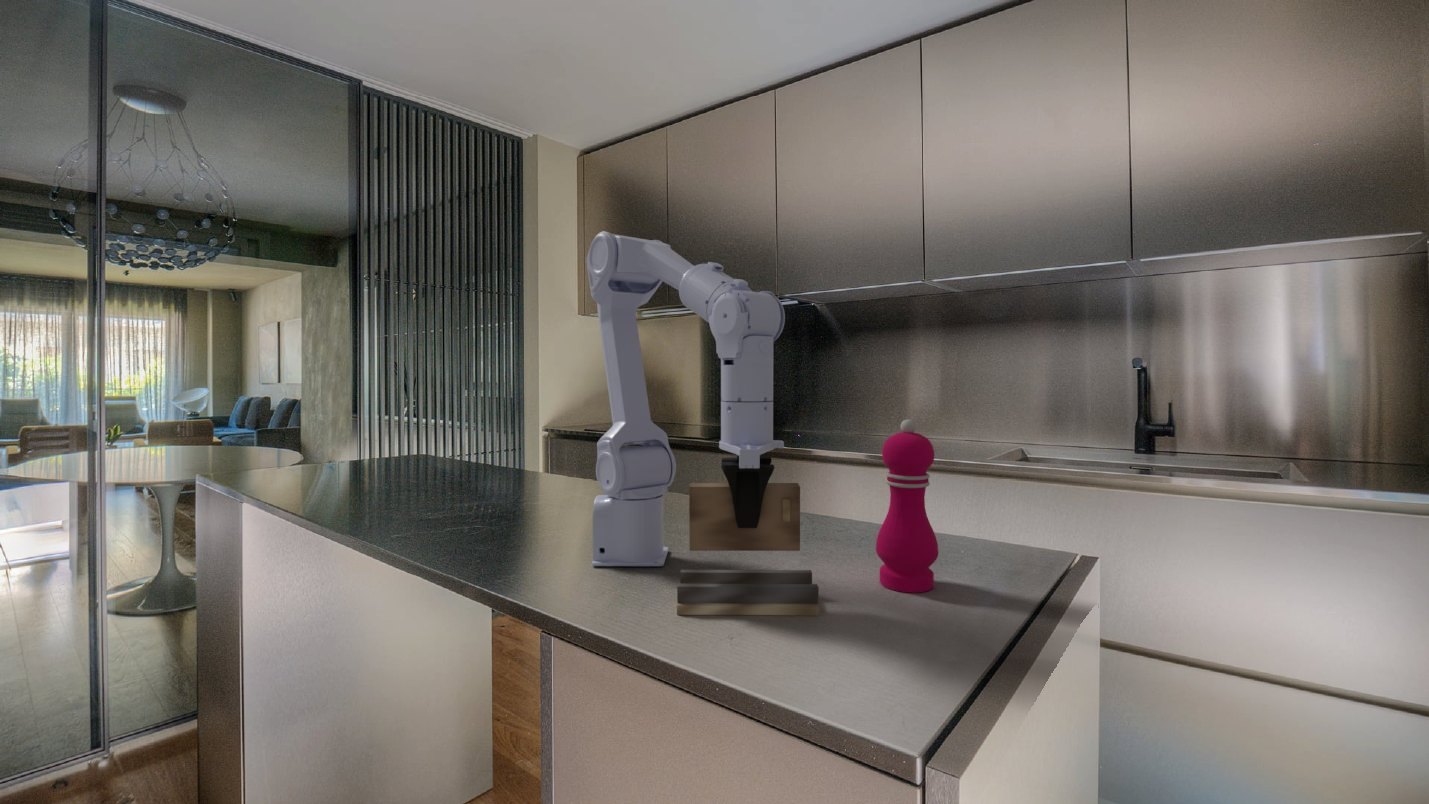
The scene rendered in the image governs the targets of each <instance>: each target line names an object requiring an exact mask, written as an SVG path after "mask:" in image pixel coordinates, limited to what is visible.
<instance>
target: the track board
mask: <svg viewBox="0 0 1429 804" xmlns="http://www.w3.org/2000/svg"><path fill="white" fill-rule="evenodd" d="M679 575H680V578H679V579H680V581H679V582H680V583H677V586H676V587H677V588H676V590H677V591H676V593H677V597H676V598H677V599H676V601H677V604H676V615H678V616H679V615H681V616H682V615H683V616H684V615H685V616H686V615H687V616H691V615H692V616H696V615H697V616H700V615H701V616H820V605H819V585H818V584H817V583H813V572H812V570H810V569H809V570H808V569H795V570H794V569H681V570H680V574H679Z"/></svg>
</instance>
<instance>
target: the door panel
mask: <svg viewBox="0 0 1429 804" xmlns="http://www.w3.org/2000/svg"><path fill="white" fill-rule="evenodd" d="M688 491H689V494H688V495H689V498H688V501H689V503H688V505H689V507H688V510H689V514H688V515H689V520H688V521H689V551H690V552H694V551H695V552H697V551H698V552H699V551H701V552H703V551H705V552H707V551H709V552H714V551H715V552H719V551H721V552H722V551H723V552H724V551H725V552H730V551H731V552H734V551H735V552H737V551H738V552H741V551H743V552H744V551H745V552H747V551H749V552H759V551H760V552H762V551H763V552H766V551H767V552H768V551H769V552H770V551H772V552H774V551H775V552H780V551H781V552H785V551H787V552H789V551H790V552H793V551H794V552H800V551H801V485H800V484H799V483H798V482H768V483H767V486H766V489H765V492H764V496H763V501H762V507H761V513H760V518H759V522H758V526H757V528H738V526H737V523H736V518H735V512H734V506H733V499H732V494H731V490H730V487H729V484H728V482H690V483H689V486H688Z"/></svg>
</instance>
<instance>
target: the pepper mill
mask: <svg viewBox="0 0 1429 804" xmlns="http://www.w3.org/2000/svg"><path fill="white" fill-rule="evenodd" d="M916 429H917V424H916V423H915V421H914V420H912V419H910V418H909V419H904V420H902V422H901V424H900V430H901V432H898V433H895V434H892V435H891V436H889V437H888V438H887V439H886V441H884V442H883V443H884V444H883V446H882V451H881V457H882V461H883V463H884V464H885V466H886V467H887V469H888V471H887V472H886V473H885V476H886V480H885V483H886V484H887V486H889V493H890V499H889V507H888V511H887V513H886V516H885V518H884V521H883V522H882V524H881V527H880V529H879V531H878V534H877V537H876V544H875V551H876V554H877V556H878V557H879V559H880V560H881V562H882V563H883V565H881V566H880V567H879V583H880V584H881V585H882V587H884V586H885V588H887V589H889V590H891V589H892V590H891V591H895V590H896V592H900V591H901V592H900V593H902V592H903V593H908V594H909V593H911V594H912V593H914V594H915V593H919V594H920V593H925V592H929V591H930V590H933V588H934V582H935V581H934V580H935V579H934V577H935V573H934V571H933V570H932V569H931V568H930V567H931V566H932V565H933V564H934V563H935V562H936V561H937V559H938V557H939V544H938V540H937V537H936V534H935V531H934V529H933V527H932V524H931V523H930V520H929V518H928V513H927V511H926V504H925V503H926V502H925V501H926V499H925V496H926V490H927V489H926V488H927V487H929V486H930V482H929V479H930V476H931V475H930V474H929V473H927V471H928V469H929V468H930V467H931V466H933V463H934V460H935V450H934V449H935V448H934V446H933V444H932V443H931V441H930V439H929V438H927V437H926V436H925V435H924V434H923V435H922V434H920V433H916V432H915V431H916Z"/></svg>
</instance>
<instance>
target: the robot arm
mask: <svg viewBox="0 0 1429 804" xmlns="http://www.w3.org/2000/svg"><path fill="white" fill-rule="evenodd" d="M585 259H586V268H587V274H588V275H587V276H588V282H589V284H588V285H589V289H590V295H591V296H590V297H591V298H592V300H594V301H595V302H596V307H597V316H598V324H599V330H600V338H601V344H602V345H601V346H602V347H601V348H602V353H603V354H602V355H603V361H604V369H605V376H606V382H607V383H606V384H607V393H608V397H609V405H610V413H611V421H612V426H611V427H610V428H609V429H608V430H607V431H606V432H605V433H603V435H602V436H601V437H600V438H599V440H598V441H597V443H596V450H597V451H596V452H597V454H596V455H597V457H596V464H595V477H596V481H597V483H598V485H599V487H600V489H601V490H602V491H603V492H604V494H599V495H596V496H595V498H594V502H593V507H592V519H591V521H592V562H591V566H593V567H663V566H664V564H665V562H666V559H667V556H668V552H669V547H668V546H664V495H665V494H668V490H669V489H668V487H670V486H671V485H672V484H673V482H674V479H675V477H676V472H677V462H676V458H675V455H674V454H673V451H672V449H671V446H670V443H669V439H668V434H667V432H665V430H663V429H662V428H660V427H659V426H658V425H657V424H655V423H654V422H653V421H652V418H651V411H650V405H649V399H648V391H647V390H648V389H647V383H646V377H645V370H644V363H643V355H642V350H641V342H640V334H639V328H638V327H639V326H638V320H637V311H638V309H639V307H641V306H643V305H646V304H647V303H648V302H649V300H650V299H651V298H652V296H653V295H654V294H655V292H656V291H657V290H658V288H659V287H660V286H661V285H662V283H663V282H664V283H665V284H667V285H668V286H669V287H670V286H671V287H672V288H673V289H675V290H677V291H678V294H679V299H680V301H681V303H682V305H683V306H684V307H685V308H687V309H689V310H690V311H691V312H693V313H694V314H695V315H697V316H698V317H699V318H702V319H703V320H704V321H705V322H707V323H709V325H708V326H709V329H710V331H711V334H712V336H713V338H714V340H715V345H716V346H715V347H716V349H715V350H716V354H717V357H718V359H720V440H719V441H718V442H719V443H718V448H719V449H720V450H721V451H725V452H728V453H730V454H734V455H736V457H722V458H721V463H720V464H721V465H720V468H721V470H722V472H723V474H724V476H725V479H726V481H727V483H728V484H729V487H730V490H731V494H732V499H733V506H734V512H735V518H736V523H737V526H738V528H757V526H758V522H759V518H760V513H761V507H762V501H763V496H764V492H765V489H766V486H767V483H769V481H770V479H771V478H772V477H771V476H772V475H773V473H774V472H775V471H774V470H775V465H774V464H772V458H771V457H772V456H769V455H763V454H765V453H768V452H771V451H773V450H774V449H784V447H785V441H783V440H780V439H779V440H778V439H777V440H776V439H775V440H774V343H775V341H776V340H778V338H779V337H781V336H780V335H781V334H782V332H783V330H784V327H785V321H786V313H785V309H784V306H783V304H782V301H781V300H780V299H779V298H778V296H776V295H775V294H774V293H773V291H768V290H765V291H764V290H763V291H762V290H761V291H759V292H758V291H753V290H752V289H751V288H750V287H749V286H748V285H749V283H748V282H747V281H746V280H744V279H740V278H734V277H732V276H730V275H728V274H726V273H725V272H723V271H724V266H723V265H722V264H720V263H718V262H714V261H713V262H711V261H708V262H707V263H700V264H696V265H694V264H692V263H691V262H690V261H688V260H687V259H686V258H684V257H683V256H681V254H678V253H677V252H676V251H675V250H673V249H672V247H671V245H670V244H668V243H664V242H663V241H661V240H659V239H652V240H650V239H644V238H638V237H634V236H633V237H632V236H628V235H627V236H626V235H621V234H615V233H610V232H609V231H605V230H604V231H600V232H598V233H597V234H596V235H595V237H594V238H593V240H592V241H591V244H590V246H589V250H588V252H587V256H586V258H585ZM631 445H632V446H631ZM633 445H638V446H633ZM623 446H629V447H623Z"/></svg>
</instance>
